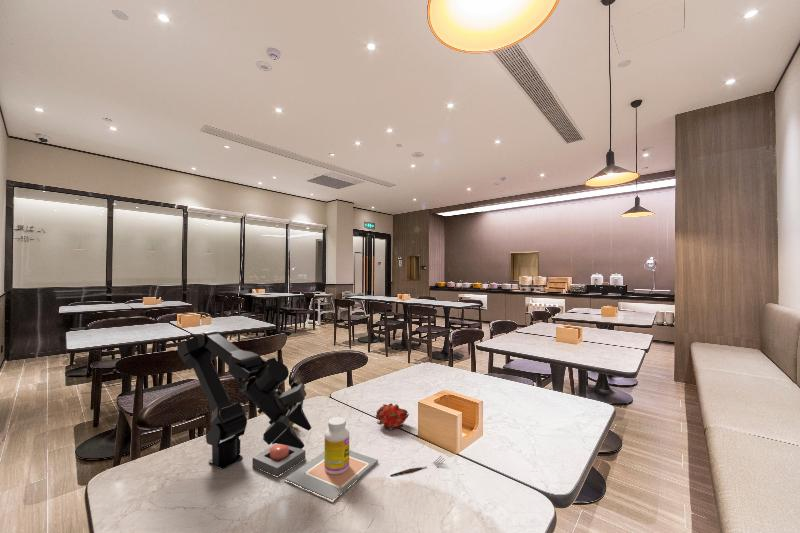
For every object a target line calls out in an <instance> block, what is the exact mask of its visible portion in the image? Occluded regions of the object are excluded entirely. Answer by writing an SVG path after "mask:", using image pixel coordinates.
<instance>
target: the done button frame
mask: <svg viewBox="0 0 800 533" xmlns="http://www.w3.org/2000/svg"><path fill="white" fill-rule="evenodd" d="M271 447H272V446H271ZM271 447H268V448H267V449H265V450H264V451H261V452H260V453H258V454H256V455H254V456H252V458H251V459H252V467H253V466H254V467H253V468H255V467H256V468H255V469H257V468H259V469H261V470H263V471H262V472H264V471H265V472H264V473H266V472H268V473H270V474H273V475H275V476H279V475H280V474H282V473H284V472H285V471H287V470H288V469H290V468H291V467H293V466H294V465H296V464H297V465H298V463H299V462H300V463H302V462H303V461H305V460H306V449H304V448H302V449H299V448H295V447H291V446H289V456H287V457H286V458H284V459H283V460H281V461H279V462H277V461H274V460H272V459H270V448H271ZM304 459H305V460H304ZM302 460H303V461H302ZM301 461H302V462H301ZM300 463H299V464H300ZM297 465H296V466H297ZM294 467H295V466H294ZM294 467H293V468H294ZM259 469H258V470H259ZM291 469H292V468H291ZM291 469H290V470H291ZM261 470H260V471H261ZM288 471H289V470H288ZM288 471H287V472H288ZM268 473H267V474H268ZM285 473H286V472H285ZM285 473H284V474H285ZM270 474H269V475H270ZM282 475H283V474H282ZM275 476H274V477H275ZM279 477H280V476H279Z"/></svg>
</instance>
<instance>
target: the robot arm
mask: <svg viewBox="0 0 800 533" xmlns="http://www.w3.org/2000/svg"><path fill="white" fill-rule="evenodd" d="M177 354H178V356H179V357H180V359H181V360H182V362H183V363H184V364H185V365H186V366H188V367H189V368H191V369H192V370H193V371H194V373H195V375H196V378H197V380H198V382H199V384H200V386H201V388H202V391H203V393H204V395H205V397H206V400H207V402H208V405H209V407H210V409H211V412H212V413H211V419H210V427H211V428H210V429H209V431H208V432H207V433H206V435H205V442H206V444H208V445H210V446H211V459H209V460H208V464H211V465H213V466H214V467H217V468H219V469H221V470H223V469H225V468H227V467H229V466H230V465H232V464H234V463H236V462H238V461H241V459H243V455H241V439H240V437H241V436H243V435H245V432H246V428H247V425H248V418H247V415H246V414H247V413H246V412H245V410H244V409H243V406H242V404H241V403H240V402H235V403H234V402H232V401H231V400H230V398H229V396H228V393H227V391H226V389H225V387H224V385H223V382H222V381H221V379H220V377H219V374H218V372H217V371H216V367H215V366H214V364H213V361H212V356H213V355H215V356H216V357H218V358H219V359H220V360H221V361H222V362H223V363H225V364H226V365H227V368H228V373H229V374H230V376H231V377H233V379H235V380H236V381H238V382H240V381H243V380H246V379H249V380H248V381H246V382H245V381H243V382H242V383H241V384H240V385H238V397H240V398H241V397H243V395H245V396H246V397H247V398H248V399H249V400H250V401H251V402H252V403H253V404H254V405H255V406H256V407H257V408H258V410H257V411H256V412H257V413H258V414H259V415H260V414H262V413H263V414H264V415H265V416H266V417H267V418H268V419H269V421H268V422H267V423H268V424H270V425H269V426H268V427H267V428H266V430H265V431H264V433H263V436H262V438H263V441H264V442H265V443H266V444H267V445H268V446H269V445H271V444H272V445H276V444H283V445H287V446H291V447H295V448H299V449H304V448H305V443H303V441H302V439H301V438H300V437H299V436H298V435H297V433H296V432H295V431H294V429H293V425H292V422H293V423H294V425H297V426H299V427H301V428H302V429H303V430H307V431H311V429H312V426H311V424H310V422H309V420H308V417H307V416H306V414H305V412H304V410H303V408H304V407H303V406H304V405H303V404H304V401H305V399H306V396H307V392H306V389H305V388H306V385H305V384H303V382H301V381H298V380H295V381H293V382H292V383H291V384H290V388H288V389H287V390H285V391H283V390H282V389H279V388H278V387H279V386H280V385H281V384H283V382H284V381H286V380H287V379H288V378H289V371H290V370H289V368H288V366H287V365H286V364H284V363H283V362H281V361H280V360H279V361H278V360H277V359H276V357H275V356H274V357H271V358H268V359H266V360H265V359H263V358H262V357H261V355H260V354H257V353H255V352H252V351H249V350H243V349H240V348H239V347H238V346H236V345H235V344H234V343H232V342H231V341H230V340H228V339H227V338H225V337H224V336H222V335H221V333H220V331H218V330H211V331H205V332H204V331H203V332H201V333H200V334H198V335H196V336H193V337H191V338H189V339H185V340H182V341H181V342H180V344H178V346H177ZM277 388H278V389H277ZM290 421H291V423H290ZM289 423H290V424H289Z"/></svg>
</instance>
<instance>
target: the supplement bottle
mask: <svg viewBox="0 0 800 533" xmlns="http://www.w3.org/2000/svg"><path fill="white" fill-rule="evenodd" d="M346 425H347V420H346V418H345V417H341V416H336V417H332V418H330V419H329V420H328V424H327V427H328V428H327V429H326V431H325V432H324V452H325V456H324V468H325V471H326V472H327V473H329V474H341V473H343V472H345V471H346V470H347V469H348V468H349V450H350V430H349V429H348V427H346Z"/></svg>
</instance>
